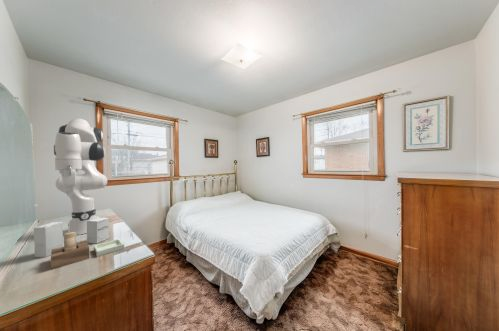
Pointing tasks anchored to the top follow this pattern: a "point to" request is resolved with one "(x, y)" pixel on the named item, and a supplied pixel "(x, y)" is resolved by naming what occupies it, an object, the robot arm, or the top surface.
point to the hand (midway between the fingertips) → (69, 195)
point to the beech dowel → (69, 241)
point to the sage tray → (108, 247)
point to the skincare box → (48, 238)
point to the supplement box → (97, 230)
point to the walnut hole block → (69, 255)
